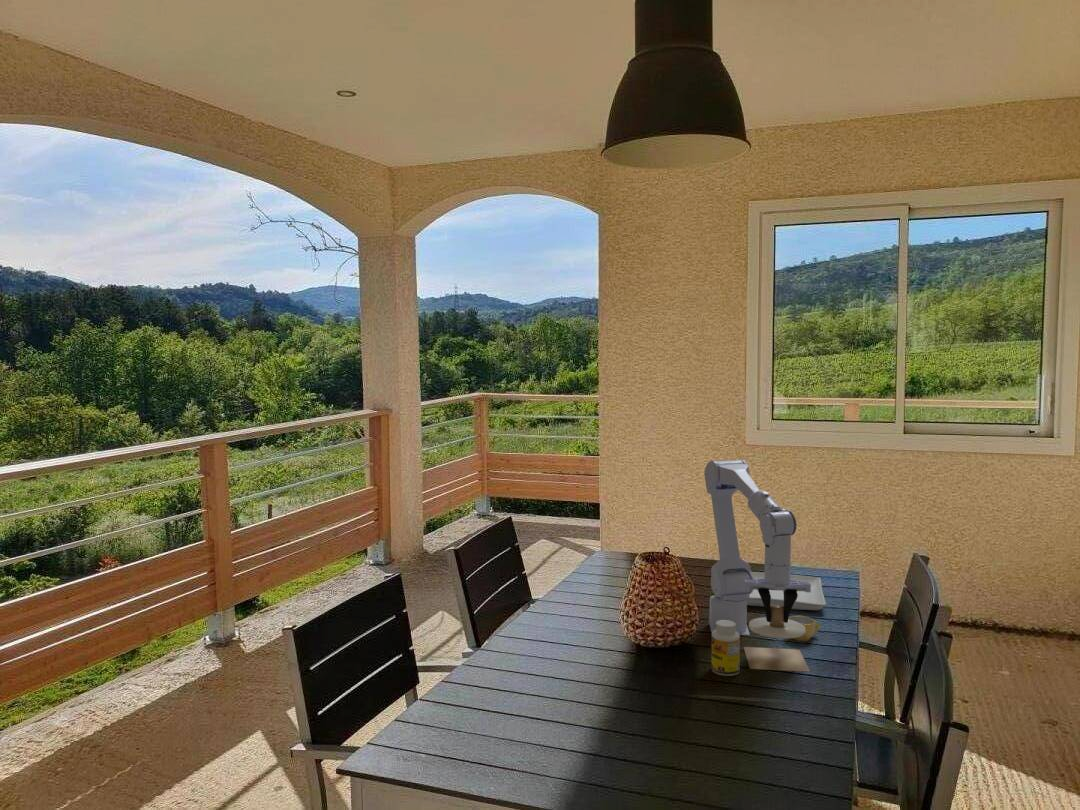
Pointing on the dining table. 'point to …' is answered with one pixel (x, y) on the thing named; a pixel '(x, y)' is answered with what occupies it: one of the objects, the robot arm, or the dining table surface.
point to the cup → (806, 626)
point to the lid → (777, 625)
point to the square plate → (804, 599)
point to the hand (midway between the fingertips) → (776, 620)
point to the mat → (775, 659)
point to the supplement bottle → (725, 648)
